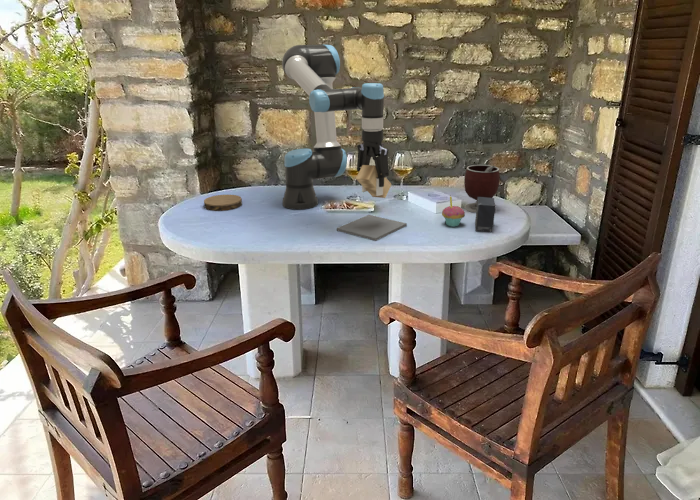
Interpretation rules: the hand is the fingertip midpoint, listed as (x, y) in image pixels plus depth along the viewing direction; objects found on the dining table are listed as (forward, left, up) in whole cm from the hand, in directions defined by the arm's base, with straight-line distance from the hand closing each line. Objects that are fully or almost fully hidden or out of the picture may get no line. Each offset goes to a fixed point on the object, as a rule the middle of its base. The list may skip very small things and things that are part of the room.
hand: (372, 193), depth 189 cm
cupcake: (+22, +22, -14) cm, 34 cm away
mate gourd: (+22, +46, -14) cm, 53 cm away
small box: (+33, +26, -14) cm, 44 cm away
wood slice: (-69, -15, -14) cm, 72 cm away
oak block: (+1, +5, 0) cm, 5 cm away
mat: (0, 0, -14) cm, 14 cm away
